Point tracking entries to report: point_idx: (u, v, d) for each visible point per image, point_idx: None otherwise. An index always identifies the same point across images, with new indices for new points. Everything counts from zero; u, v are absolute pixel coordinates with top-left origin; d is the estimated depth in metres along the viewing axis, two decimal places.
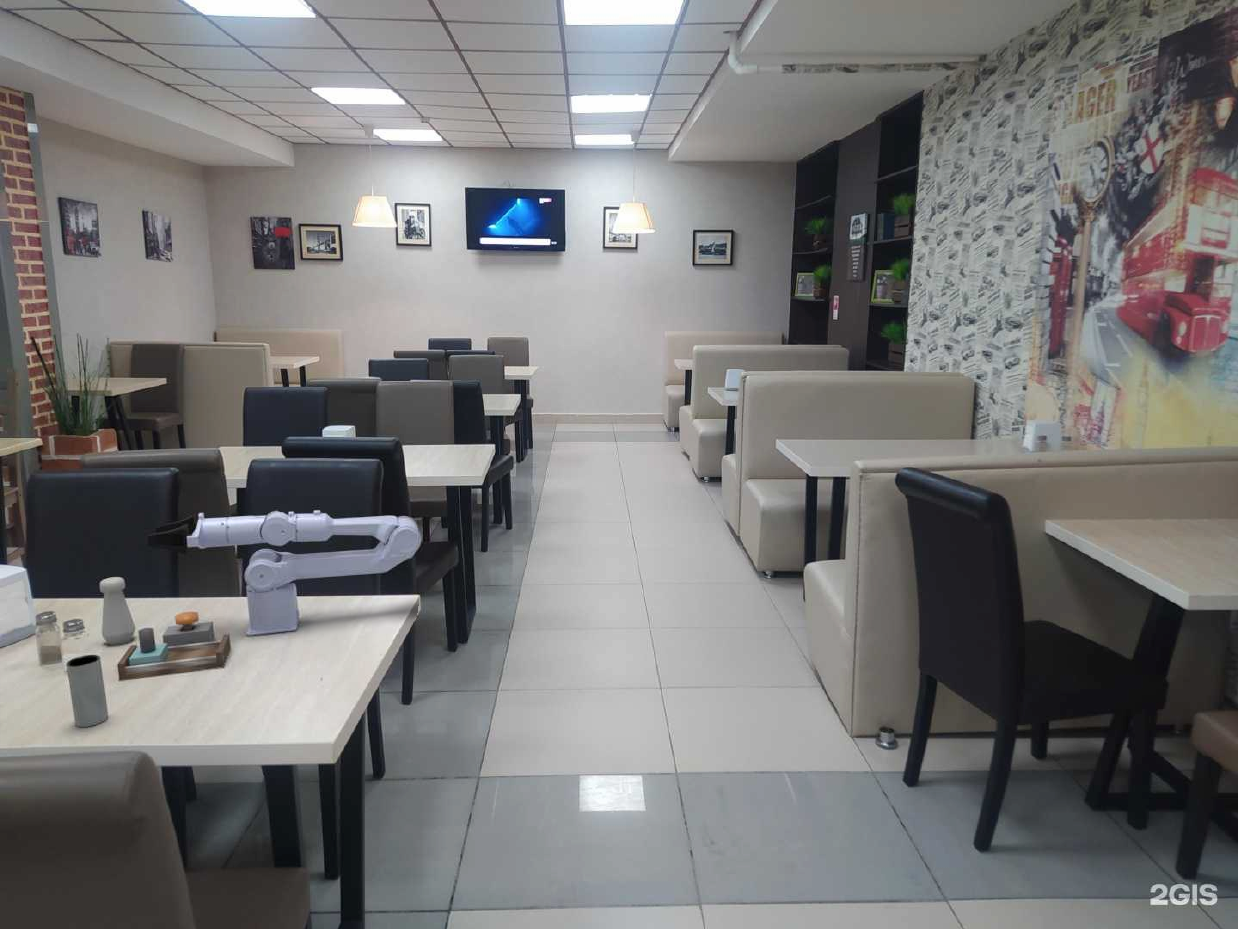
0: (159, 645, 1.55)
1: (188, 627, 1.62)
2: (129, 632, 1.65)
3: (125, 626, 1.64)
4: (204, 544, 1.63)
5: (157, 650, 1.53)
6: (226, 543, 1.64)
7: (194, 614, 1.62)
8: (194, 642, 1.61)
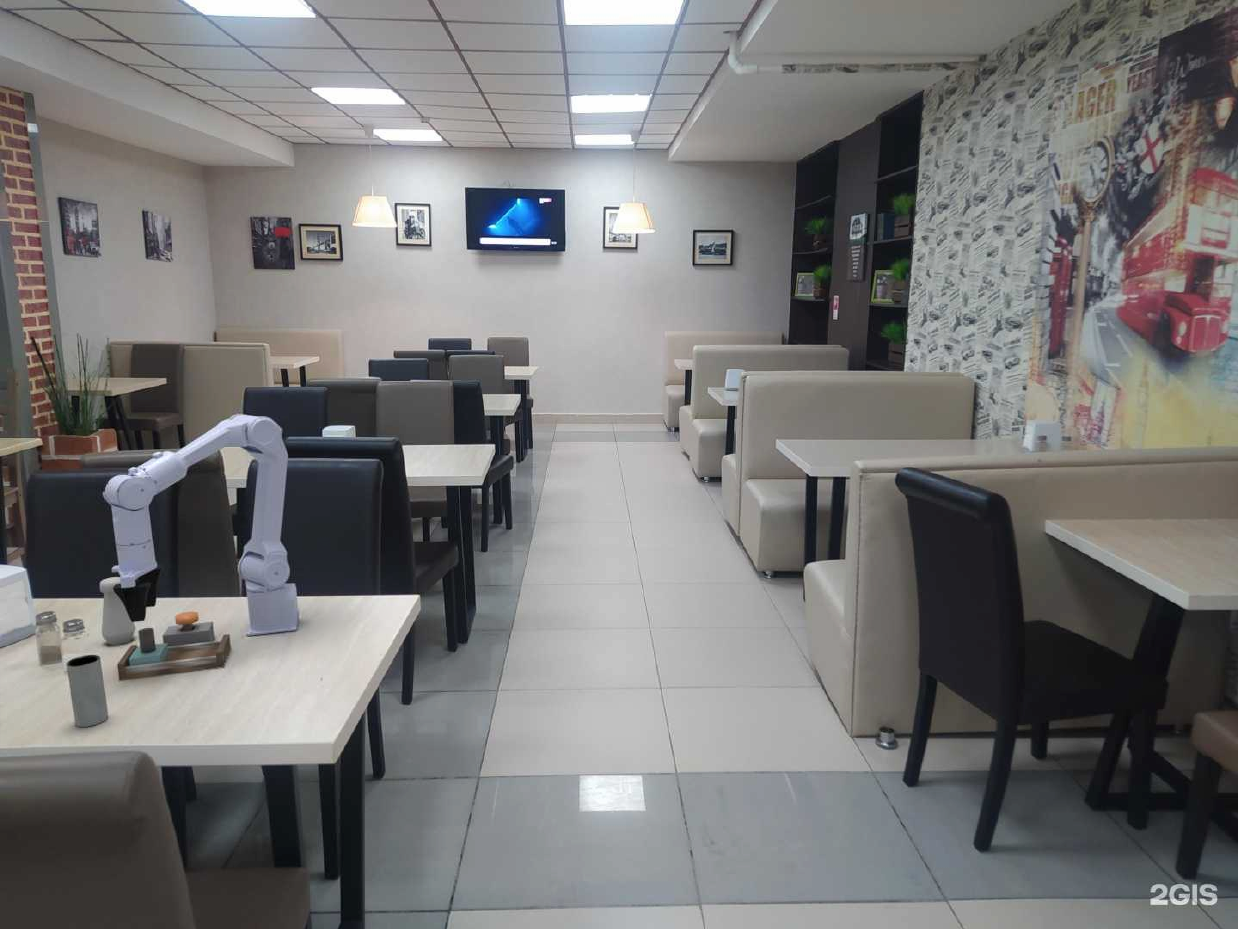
0: (159, 645, 1.55)
1: (188, 627, 1.62)
2: (129, 633, 1.65)
3: (125, 626, 1.64)
4: (145, 566, 1.48)
5: (157, 650, 1.53)
6: (143, 544, 1.48)
7: (194, 614, 1.62)
8: (194, 642, 1.61)
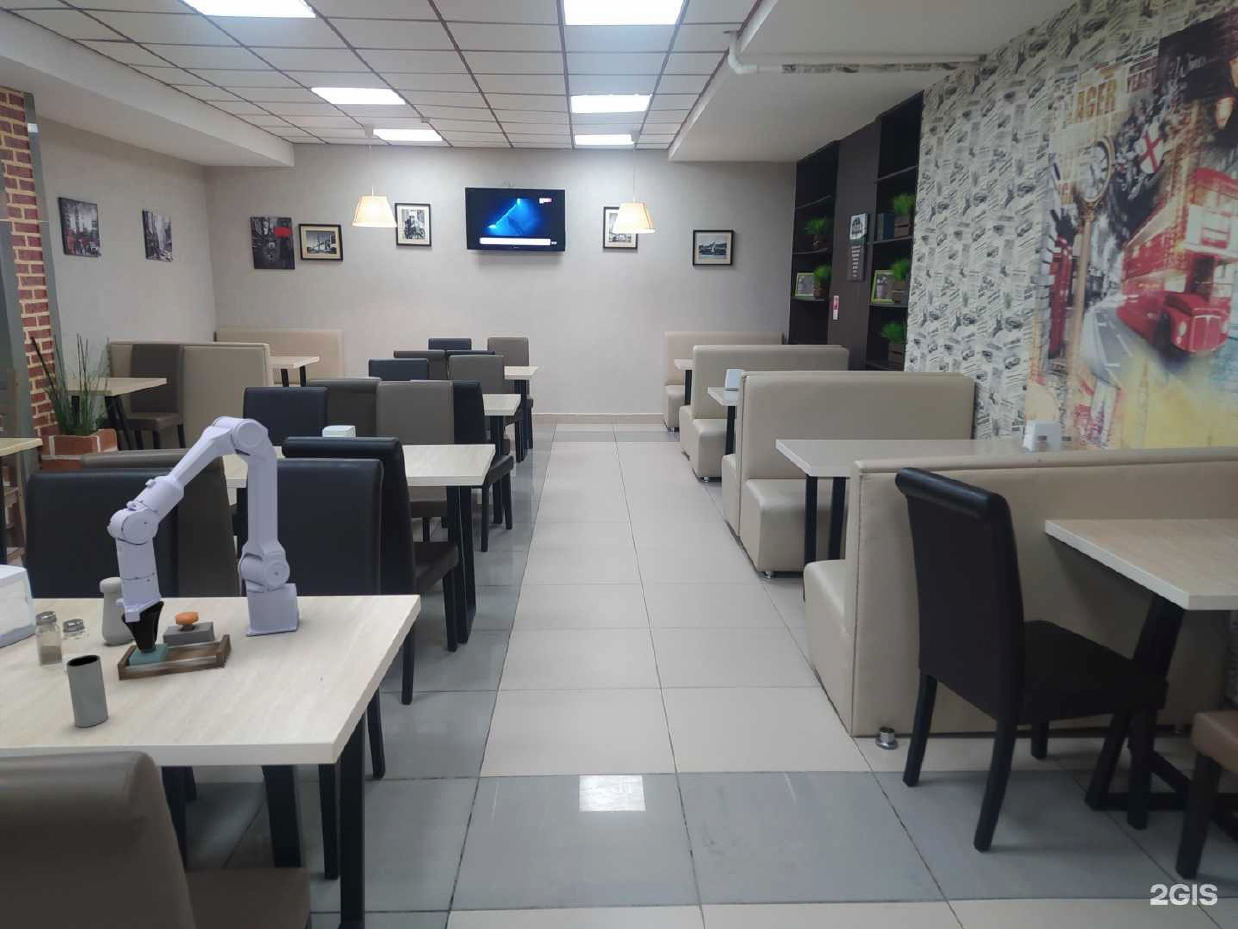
0: (159, 645, 1.55)
1: (188, 627, 1.62)
2: (129, 633, 1.65)
3: (125, 626, 1.64)
4: (149, 599, 1.49)
5: (157, 650, 1.53)
6: (148, 578, 1.49)
7: (194, 614, 1.62)
8: (194, 642, 1.61)
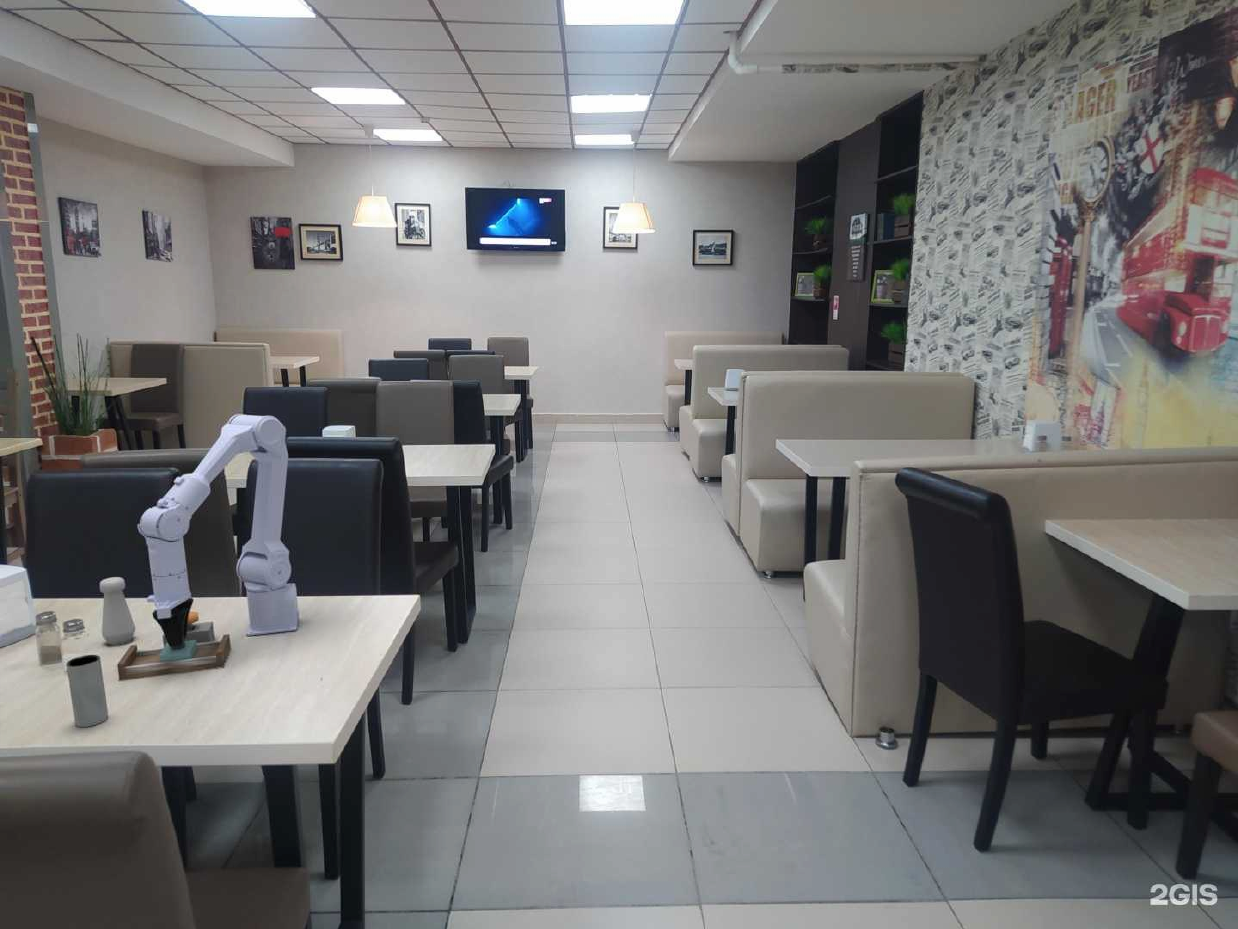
0: (188, 642, 1.56)
1: (188, 627, 1.62)
2: (129, 633, 1.65)
3: (125, 626, 1.64)
4: (180, 596, 1.51)
5: (186, 647, 1.54)
6: (178, 575, 1.50)
7: (194, 614, 1.62)
8: None
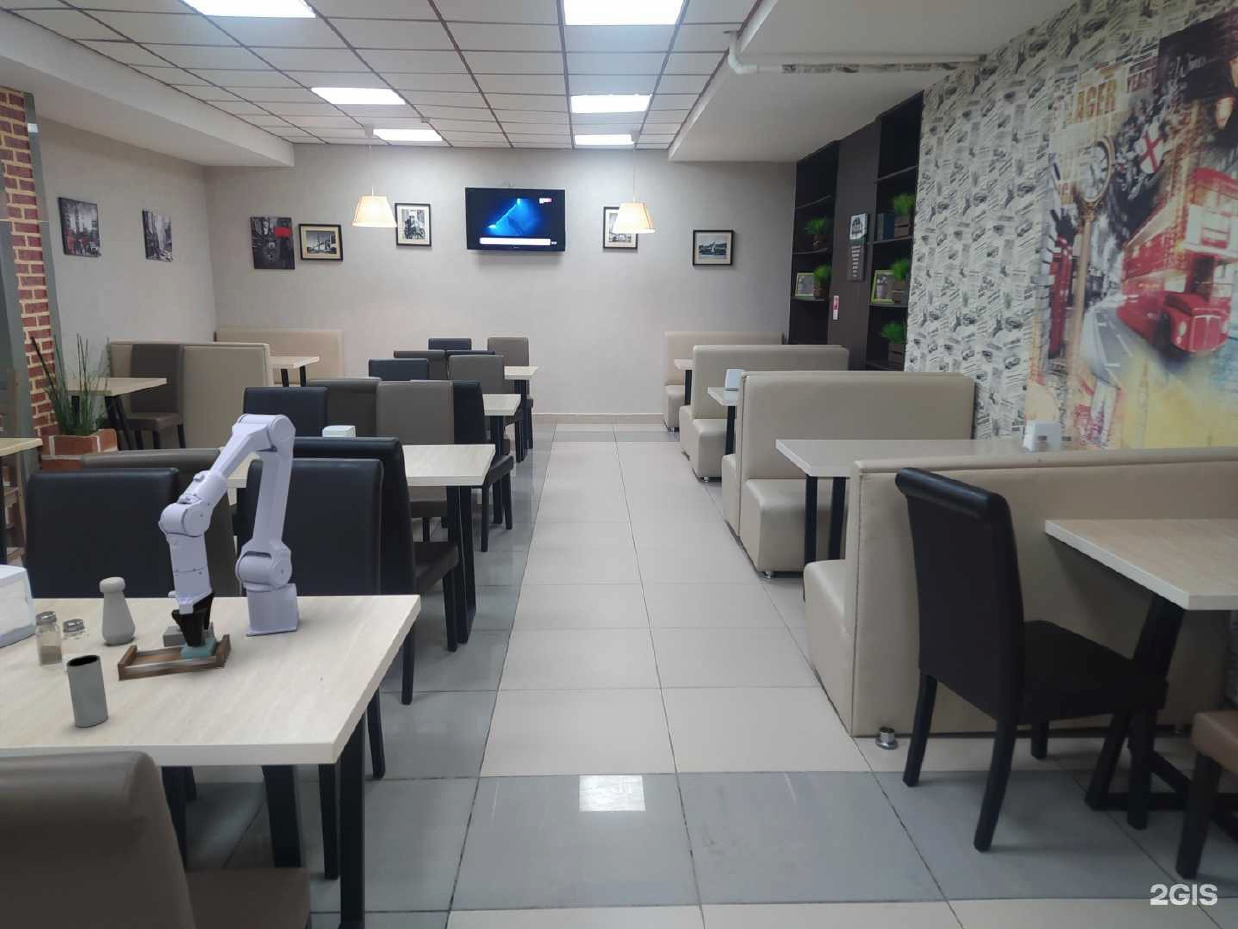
0: (208, 639, 1.57)
1: None
2: (129, 633, 1.65)
3: (125, 626, 1.64)
4: (201, 592, 1.52)
5: (207, 645, 1.55)
6: (199, 571, 1.51)
7: None
8: None
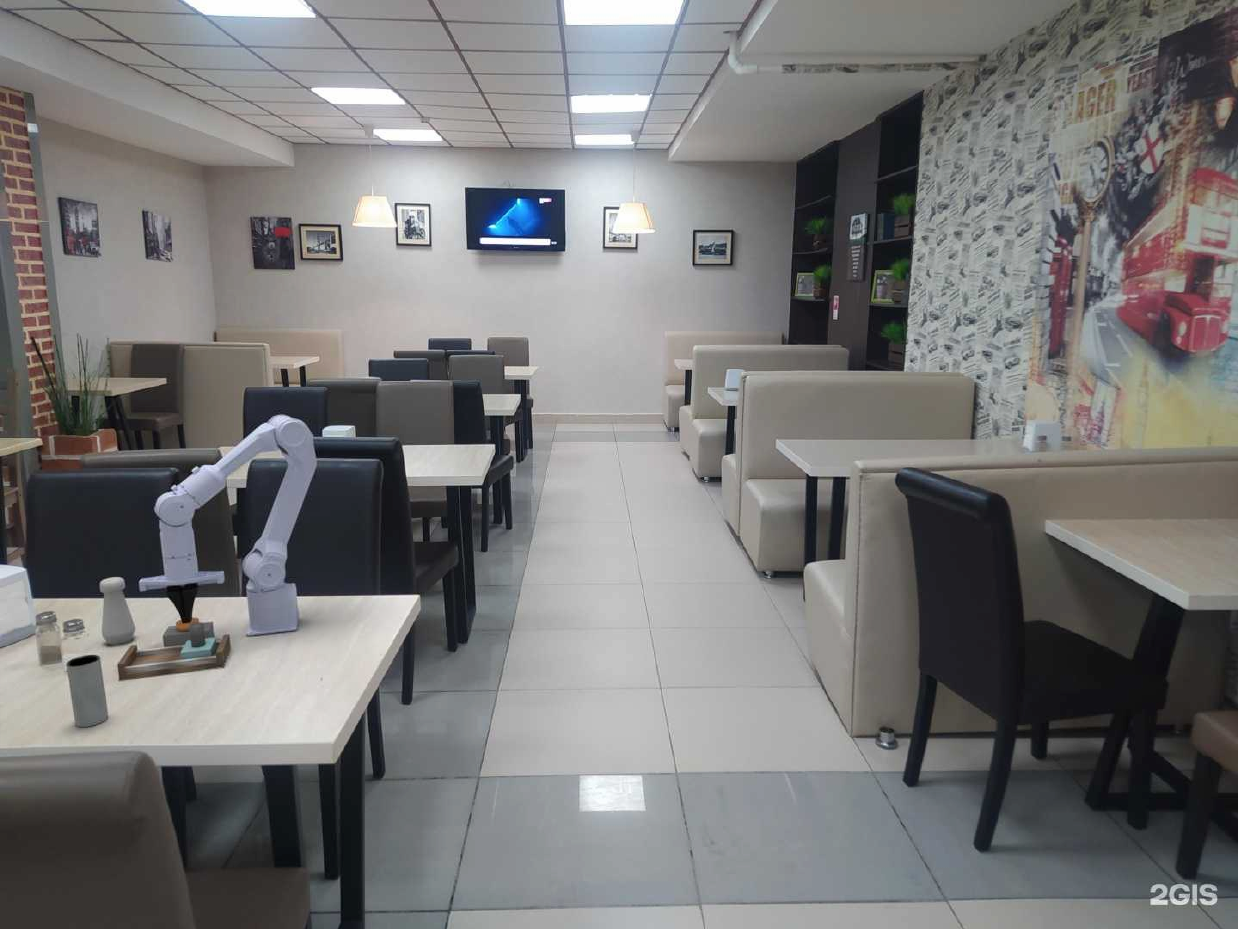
0: (208, 639, 1.57)
1: None
2: (129, 633, 1.65)
3: (125, 626, 1.64)
4: (167, 579, 1.58)
5: (207, 645, 1.55)
6: (165, 559, 1.57)
7: (195, 620, 1.63)
8: None
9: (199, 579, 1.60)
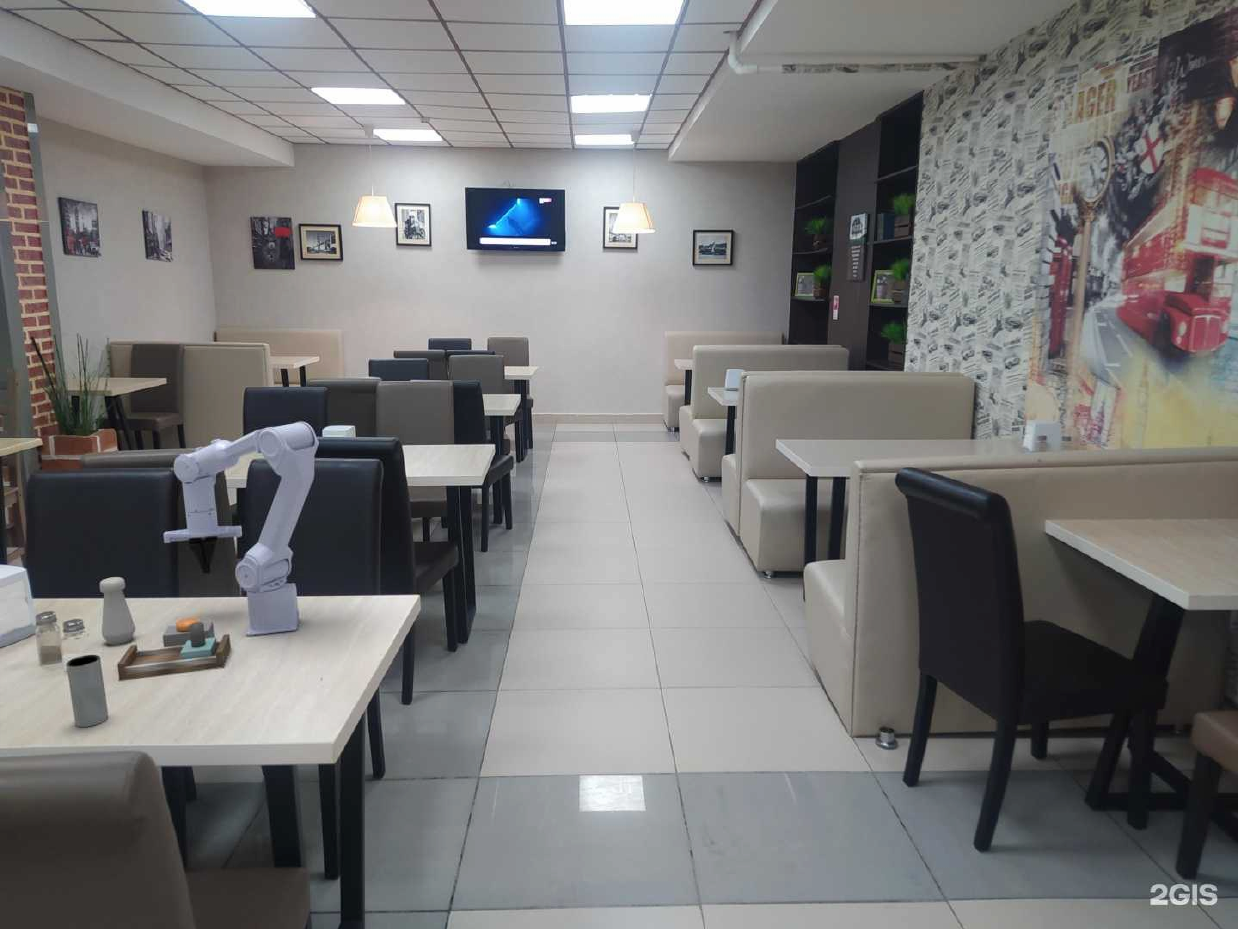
0: (208, 639, 1.57)
1: None
2: (129, 632, 1.65)
3: (125, 626, 1.64)
4: (189, 531, 1.71)
5: (207, 645, 1.55)
6: (188, 513, 1.70)
7: (195, 620, 1.63)
8: None
9: (219, 532, 1.73)
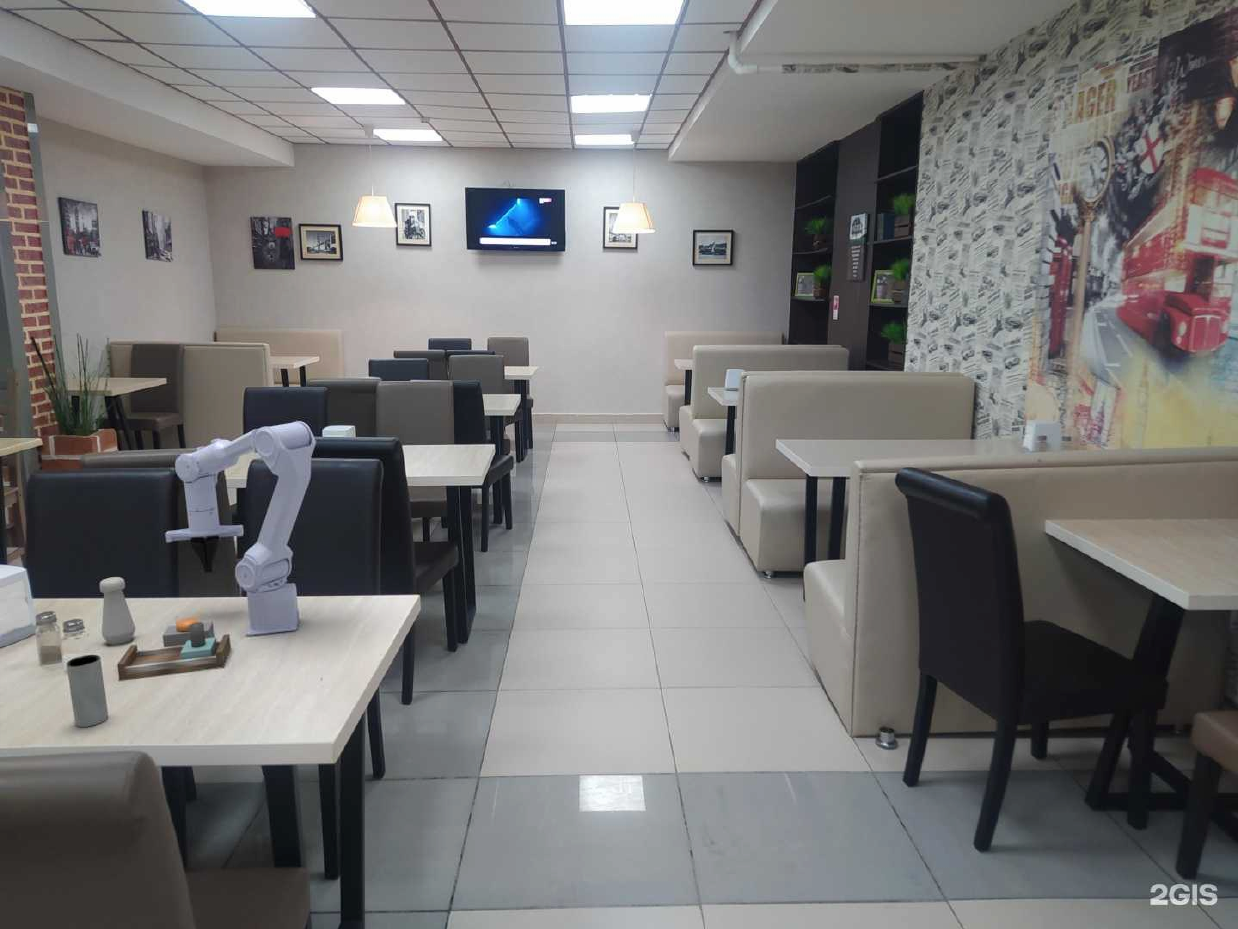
0: (208, 639, 1.57)
1: None
2: (129, 633, 1.65)
3: (125, 626, 1.64)
4: (191, 531, 1.72)
5: (207, 645, 1.55)
6: (189, 512, 1.71)
7: (195, 620, 1.63)
8: None
9: (220, 531, 1.73)
